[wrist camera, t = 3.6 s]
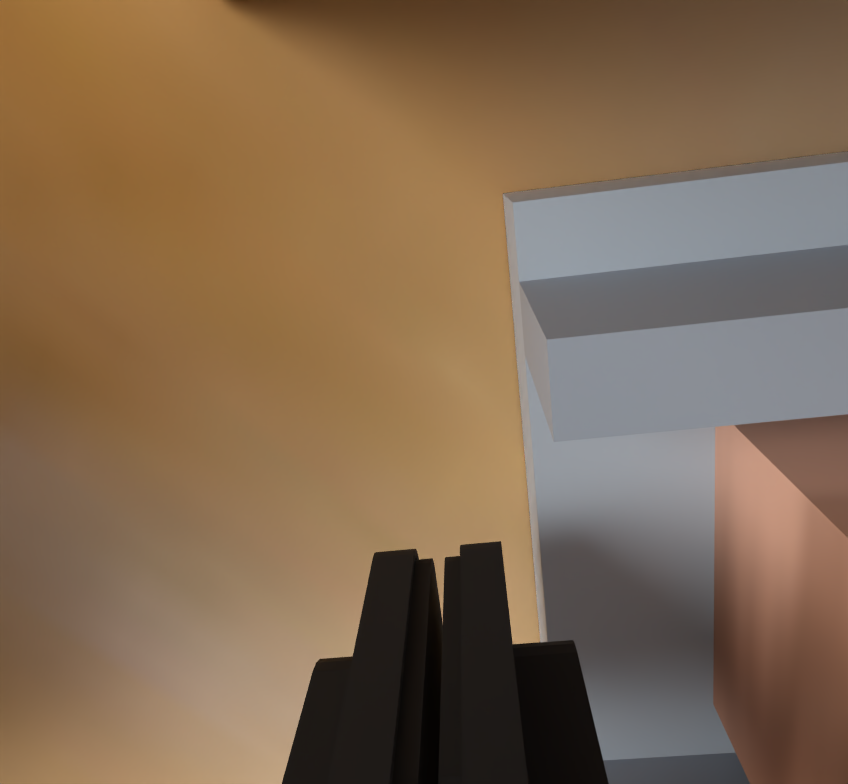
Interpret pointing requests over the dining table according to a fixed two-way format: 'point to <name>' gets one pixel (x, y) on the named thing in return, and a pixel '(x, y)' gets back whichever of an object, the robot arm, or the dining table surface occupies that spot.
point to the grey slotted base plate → (663, 416)
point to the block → (783, 597)
